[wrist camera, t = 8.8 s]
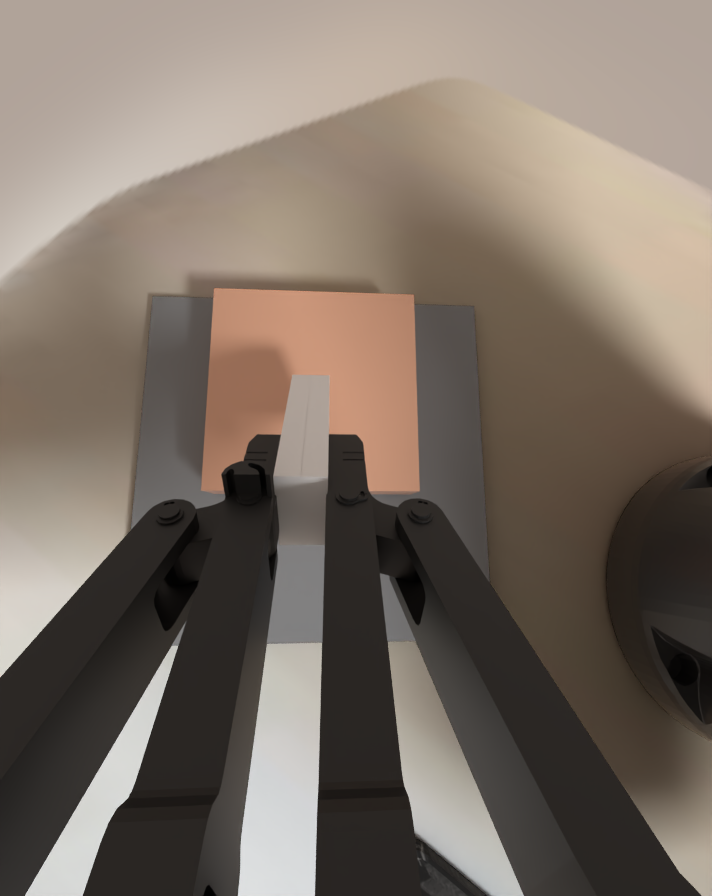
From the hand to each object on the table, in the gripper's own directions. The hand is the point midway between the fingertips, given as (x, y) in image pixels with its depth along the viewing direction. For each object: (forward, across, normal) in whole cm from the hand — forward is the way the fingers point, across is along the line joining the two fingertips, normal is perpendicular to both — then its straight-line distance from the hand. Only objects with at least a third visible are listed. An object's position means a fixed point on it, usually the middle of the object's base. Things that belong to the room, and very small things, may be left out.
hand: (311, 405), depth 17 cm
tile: (0, 0, +5) cm, 5 cm away
